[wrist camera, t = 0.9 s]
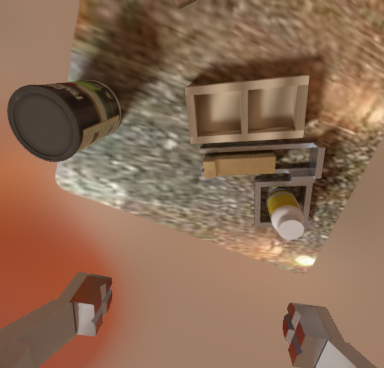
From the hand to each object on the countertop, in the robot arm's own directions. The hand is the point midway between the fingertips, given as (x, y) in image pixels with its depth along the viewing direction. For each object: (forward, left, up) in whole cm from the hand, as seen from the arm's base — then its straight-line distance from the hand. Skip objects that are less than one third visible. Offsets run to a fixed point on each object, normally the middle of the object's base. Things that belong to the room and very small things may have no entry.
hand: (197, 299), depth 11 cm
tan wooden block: (-3, +6, -36) cm, 36 cm away
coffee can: (+23, -5, -36) cm, 43 cm away
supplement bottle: (-11, +15, -36) cm, 41 cm away
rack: (-4, -3, -36) cm, 36 cm away
